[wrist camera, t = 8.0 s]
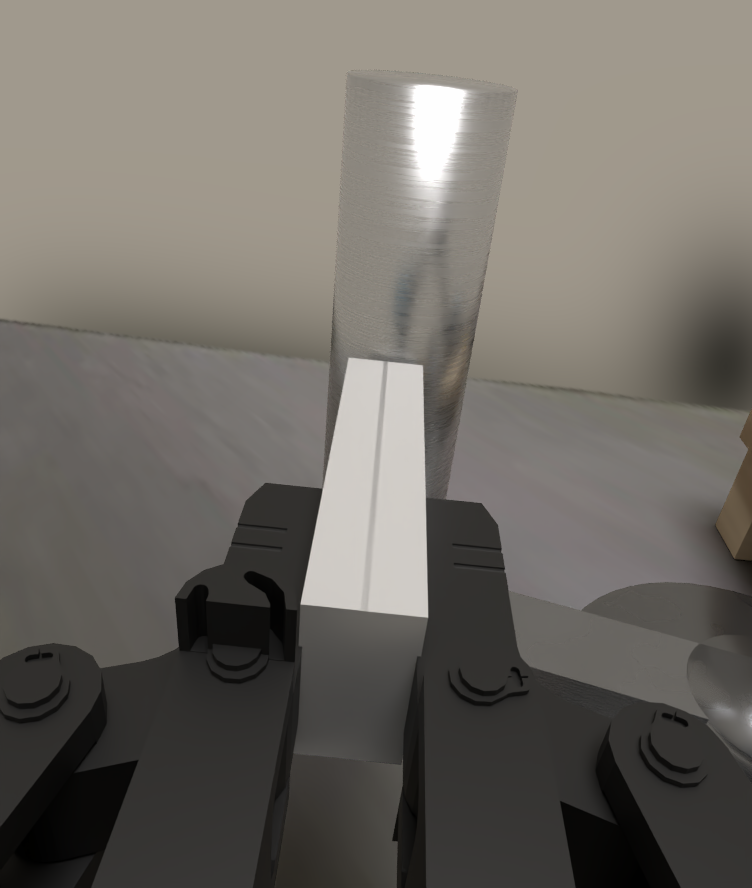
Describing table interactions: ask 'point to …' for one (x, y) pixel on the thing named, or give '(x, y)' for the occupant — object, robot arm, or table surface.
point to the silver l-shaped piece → (445, 375)
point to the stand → (739, 505)
